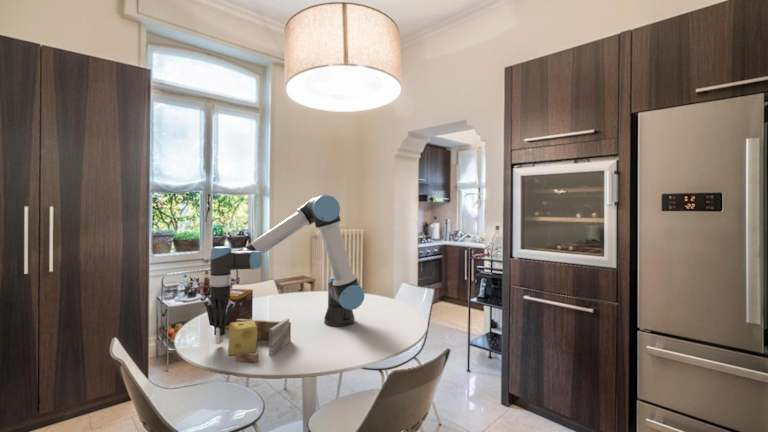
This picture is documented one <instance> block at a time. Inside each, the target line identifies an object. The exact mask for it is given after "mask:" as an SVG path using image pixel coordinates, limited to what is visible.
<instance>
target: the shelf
mask: <svg viewBox="0 0 768 432" xmlns="http://www.w3.org/2000/svg"><path fill="white" fill-rule="evenodd" d="M254 320H255V324H256V326H257V341H266V342H268V356H271V357H272V356H274V355H276V354H277V353H278V352H279V351H280V350H282V349H283V348H284V347H285V346H287V344H289V343H290V342H292V341H291V339H292V337H291V334H292V333H291V331H292V330H291V329H292V327H291V326H292V325H291V324H292V322H290V318H285V319H283V320H281V321H274V320H264V319H262V320H260V319H252V320H248V319H237V320H236V322H244V321H254ZM235 362H237V363H239V362H240V363H250V364H251V363H252V364H258V363H259V353H258V352H257V353H256V352H251V353H248V352H237V353H236V354H235Z"/></svg>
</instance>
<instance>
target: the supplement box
mask: <svg viewBox="0 0 768 432" xmlns="http://www.w3.org/2000/svg"><path fill="white" fill-rule="evenodd" d="M253 290H254V289H252V288H250V289H247V288H232V289H230V298H231V301H232V302H233V303H234V302H236V305H235V307H234V309H233V313H232V317H231V321H230V323H232V322H236V320H237V319H248V320H253V297H254V296H253V294H254V293H253ZM227 309H228V305H227ZM227 309H226V313H227ZM229 328H230V325H228V326H226V327H225V329H229Z"/></svg>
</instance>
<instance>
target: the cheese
mask: <svg viewBox="0 0 768 432" xmlns="http://www.w3.org/2000/svg"><path fill="white" fill-rule="evenodd" d="M253 320H254V321H244V322H232V323H230V328H228V330H229V334H228V347H227V354H228V356H232V355H233V356H234V355H236V353H237V352H248V353H256V349H257V341H258V340H257V326H256V324H255V320H256V319H253Z"/></svg>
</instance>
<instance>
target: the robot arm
mask: <svg viewBox="0 0 768 432" xmlns="http://www.w3.org/2000/svg"><path fill="white" fill-rule="evenodd" d="M340 212H341V206H340V203H339V201H338V200H337V199H336V198H335V197H334V196H331V195H329V194H321V195H316V196H313V197H311V198H310V199H309V200H307V202H305V203H304V204H302V205H301V206H300V207H299V208H297V209H296V212H294V214H292V215H290V216H289V217H287V218H286V219H284V220H283V221H281V222H279V223H278V224H277V225H276V226H274V227H273V228H271V229H269V230H268V231H266V232H265V233H263V234H262V235H261V236H258V237H257V238H256V239H254V240H252V241H251V242H250V243H249V244H247V245H245V246H244V247H240V248H239V249H238V250H237V251H235V250H232V247H231V246H214V247H212V248H211V250H210V261H209V263H210V264H209V265H210V273H209V275H210V276H209V281H210V282H209V285H210V287H209V295H210V297H209V299H208V300H207V301H205V302H203V305H204V306H205V308H206V313H207V317H208V323H209V326H211V327H213V328H214V329H213V331H214V332H213V334H214V336H215V345H220V344H222V343H224V336H225V335H226V328H225V327H226V326H228V325H230V321H231V317H232V313H233V309H234V307H235V305H236V302H234V303H233V302H232V301H231V298H230V290H231V282H232V281H231V280H232V279H231V278H232V277H231V276H232V275H231V273H232V272H231V271H232V270H234V271H235V270H257V269H260V268H262V267H263V266H262V265H263V264H262V263H263V255H264V254H266V253H267V252H269V251H271V250H272V249H273V248H274V247H276V246H278V245H280V244H281V243H282V242H284V241H285V240H287V239H288V238H290V237H292V235H294V234H295V233H297V232H298V231H300V230H301V229H302V228H304V227H306V226H307V227H309V226H311V225H313V224H314V226H315V228H316V229H318V230H320V234H321V237H322V240H323V244H324V247H325V251H326V254H327V258H328V260H329V265H330V268H331V271H332V275H333V276H331V277H329V278H328V282H327V285H328V286H327V298H328V299H327V309H326V312H325V314H324V315H325V316H324V321H323V323H324V324H325V325H327V326H331V327H347V325H348V326H351V325H353V324H354V323H355V322H354V321H355V319H356V318H355V314H354V311H353V310H356V309H358V308H359V307H360V306H361V305H362V304H363V302H364V300H365V291H364V290H363V288H362V286H360V284H359V280H358V276H357V275H355V274H353V270H352V267H351V264H350V261H349V256H348V254H347V253H348V252H347V250H346V246H345V243H344V239H343V235H342V233H341V229H340V223H341V221H342V220H341V217H340ZM227 305H228V309H227ZM226 309H227V313H226Z"/></svg>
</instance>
